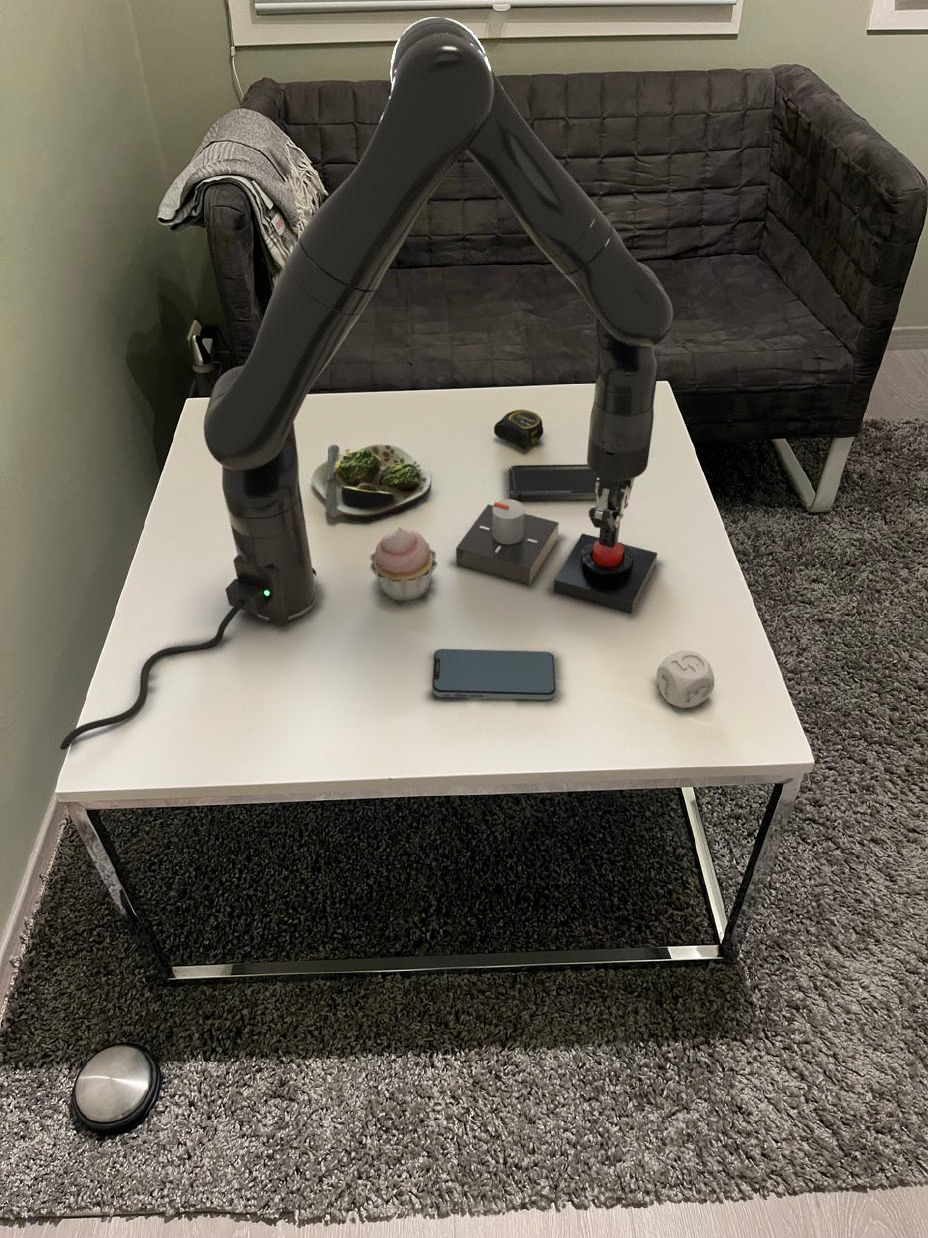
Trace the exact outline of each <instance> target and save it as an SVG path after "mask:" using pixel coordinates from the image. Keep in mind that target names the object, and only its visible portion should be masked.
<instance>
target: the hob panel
mask: <svg viewBox="0 0 928 1238" xmlns="http://www.w3.org/2000/svg"><path fill="white" fill-rule="evenodd" d="M493 506H494V504H489V503H487V505H486V506H485V507H484V509H483V510H482V512H481V513H480V514H479V516H478V517H477V518H476V520H475V521H474V523H473V524H472V525H471V527H469V530H468V531H467V533H465V535H464V537H462V539H461V541H460V542H459V543H458V544H457V547H455V555H456V556H455V558H456V565H457V566H461V567H465V568H468V569H471V570H475V571H479V572H482V573H485V574H488V575H493V576H497V577H500V578H503V579H507V580H510V581H513V582H517V583H520V584H525V585H527V586H530V585H531V584H532V582H533V580H534V578H535V577H536V575H537V573H538V572H539V570H540V569H541V568H542V565H543V564H544V562H545V561H546V559H547V557H548V556H549V554H550V553H551V551H552V550H553V548H554V546H555V544H556V543H557V541H558V539H559V527H560V523H559V522H558V521H555V520H550V519H547V518H543V517H539V516H535V515H531V514H528V513H525V515H524V537H523V539H522V540H521V541H520V542H518V543H515V544H509V545H508V544H501V543H499V542H497V541H496V540H495V539H494V538H493V535H492V513H493Z"/></svg>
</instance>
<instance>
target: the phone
mask: <svg viewBox="0 0 928 1238" xmlns="http://www.w3.org/2000/svg"><path fill="white" fill-rule="evenodd" d="M597 479H600V478H599V477H598V476H597V475H596V474H595V473H594V472H593V471H592V470H591V469H590V468H589V466H588V464H587V463H586V464H585V463H583V464H581V463H580V464H579V463H578V464H517V465H515V464H514V465H512V466H509V468H508V489H509V499H510V500H516V501H518V502H554V501H555V502H559V501H562V502H563V501H567V502H568V501H596V497H597V494H596V492H595V485H596V481H597Z"/></svg>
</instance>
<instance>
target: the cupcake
mask: <svg viewBox="0 0 928 1238" xmlns="http://www.w3.org/2000/svg"><path fill="white" fill-rule="evenodd" d="M437 555H438V554H437V552H436V551H435V550H433V549H431V548H430V544H429V542H427V541H426V538H425V537H424V536H423V534H421V533H420V532H419V531H416V530H415V529H410V528H403V527H398V528H397V529H394V530H391V531H388V532H386V533H385V534H383V537H382V539H380V540H379V542H378V543H377V544H376V547H375V552H373V553H371V554H369V555H368V557H369V559H370V561H371V563H370V564H369V566H368V568H369V570H371V572H372V573H373V574H374V575H375V577H376V578H377V581H378V582H379V585H380V587H381V590H382V592H383V593H384V594H385V595H386V596H387V597H388V598H390V599H392V600H394V601H399V602H410V601H414V600H417V599H419V598H421V597H422V596H423V595H424V594H425V593H426V592H427V590H428V588H429V585H430V582H431V578H432V575H433V573H434V571H435V570H436V568H437V567H438V565H439V563H438V561H437V560H436V557H437Z"/></svg>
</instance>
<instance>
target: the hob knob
mask: <svg viewBox="0 0 928 1238" xmlns="http://www.w3.org/2000/svg"><path fill="white" fill-rule="evenodd" d="M525 511H526V508H525V506H524V504H523V503H522V502H521V501H516V500H512V499H511V498H509V499H502V500H499V501H495V502H494V503H493V513H492V535H493V538H494V539H495V540H496V541H497V542H499V543H501V544H508V545H509V544H515V543H518V542H520V541H521V540H522V539H523V537H524V515H525V514H526V512H525Z"/></svg>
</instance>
